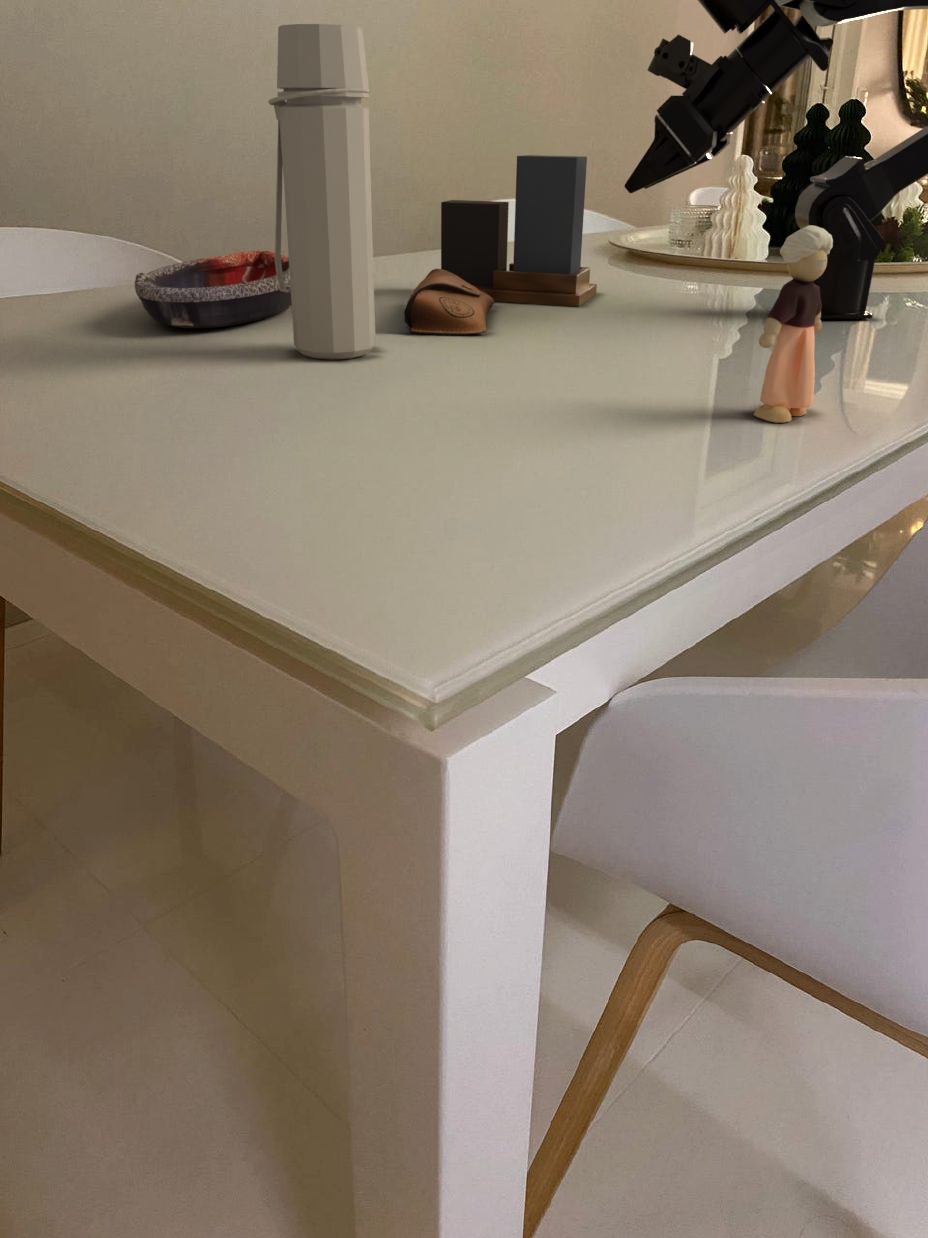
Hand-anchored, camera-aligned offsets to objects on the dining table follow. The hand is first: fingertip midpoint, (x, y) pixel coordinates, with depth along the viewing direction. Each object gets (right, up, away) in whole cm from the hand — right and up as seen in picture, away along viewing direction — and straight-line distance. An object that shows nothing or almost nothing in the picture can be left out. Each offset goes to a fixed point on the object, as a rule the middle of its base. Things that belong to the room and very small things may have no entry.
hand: (635, 187), depth 109 cm
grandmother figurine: (+4, -32, -36) cm, 49 cm away
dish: (-43, -14, -1) cm, 46 cm away
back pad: (-9, -7, +10) cm, 15 cm away
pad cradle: (-13, -8, +11) cm, 19 cm away
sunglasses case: (-20, -15, -3) cm, 25 cm away
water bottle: (-31, -23, -19) cm, 43 cm away
